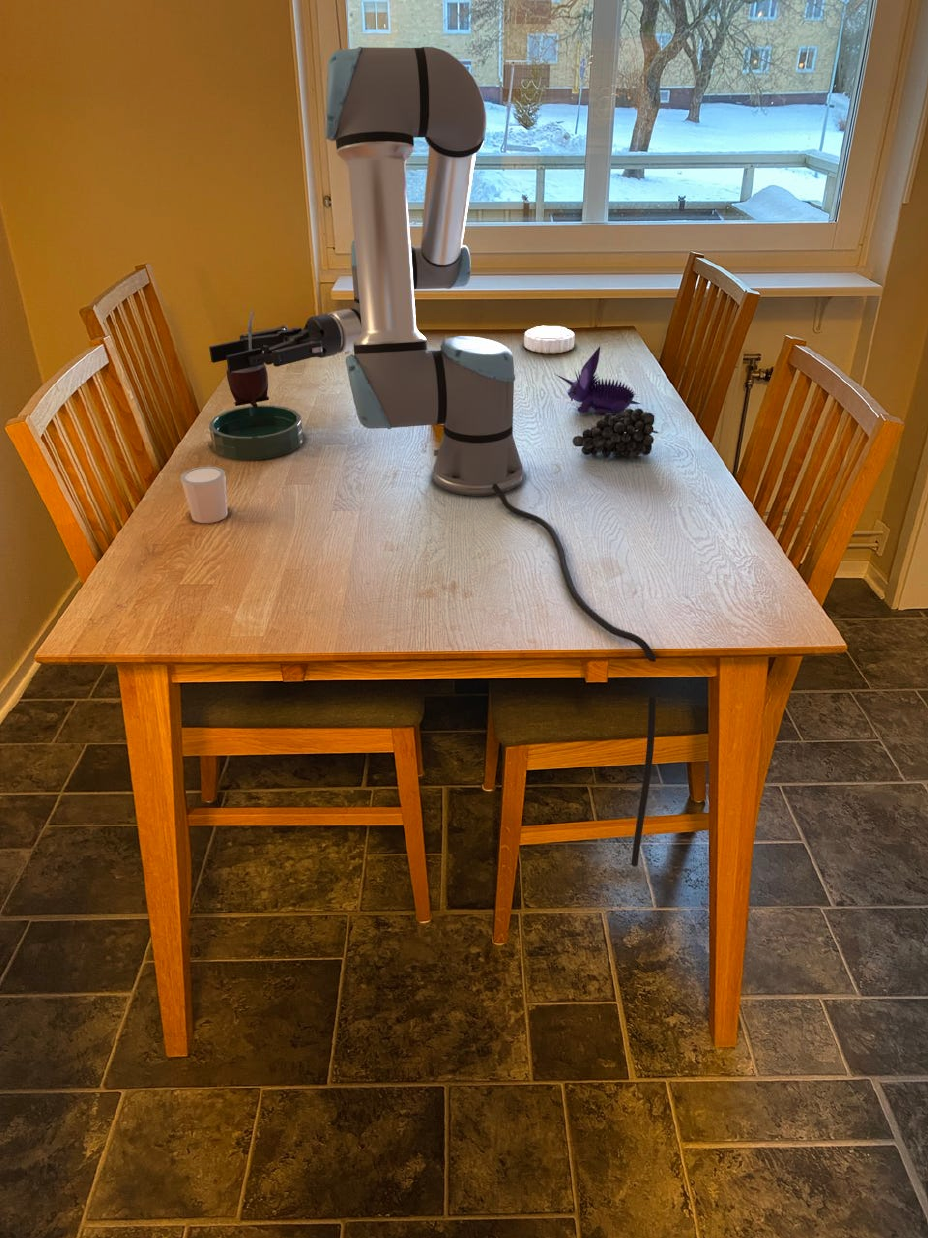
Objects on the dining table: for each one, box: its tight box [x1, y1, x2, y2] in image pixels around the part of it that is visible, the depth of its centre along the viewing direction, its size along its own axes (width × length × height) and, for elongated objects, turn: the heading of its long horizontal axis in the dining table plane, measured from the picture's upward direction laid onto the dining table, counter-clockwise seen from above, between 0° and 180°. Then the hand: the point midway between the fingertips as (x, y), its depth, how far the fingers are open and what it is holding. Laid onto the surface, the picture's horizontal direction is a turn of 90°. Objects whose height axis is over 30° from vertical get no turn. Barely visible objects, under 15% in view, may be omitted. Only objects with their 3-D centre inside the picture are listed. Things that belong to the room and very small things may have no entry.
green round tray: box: [209, 404, 304, 461], centre depth 173 cm, size 17×17×4 cm
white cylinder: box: [179, 466, 229, 524], centre depth 147 cm, size 7×7×7 cm
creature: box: [554, 345, 642, 415], centre depth 184 cm, size 9×18×12 cm, turn 80°
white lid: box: [523, 325, 576, 354], centre depth 222 cm, size 12×12×4 cm
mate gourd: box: [226, 310, 270, 408], centre depth 166 cm, size 8×8×15 cm
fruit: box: [572, 408, 659, 459], centre depth 167 cm, size 9×8×15 cm
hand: (219, 359), depth 163 cm, fingers closed on mate gourd, 6 cm apart
